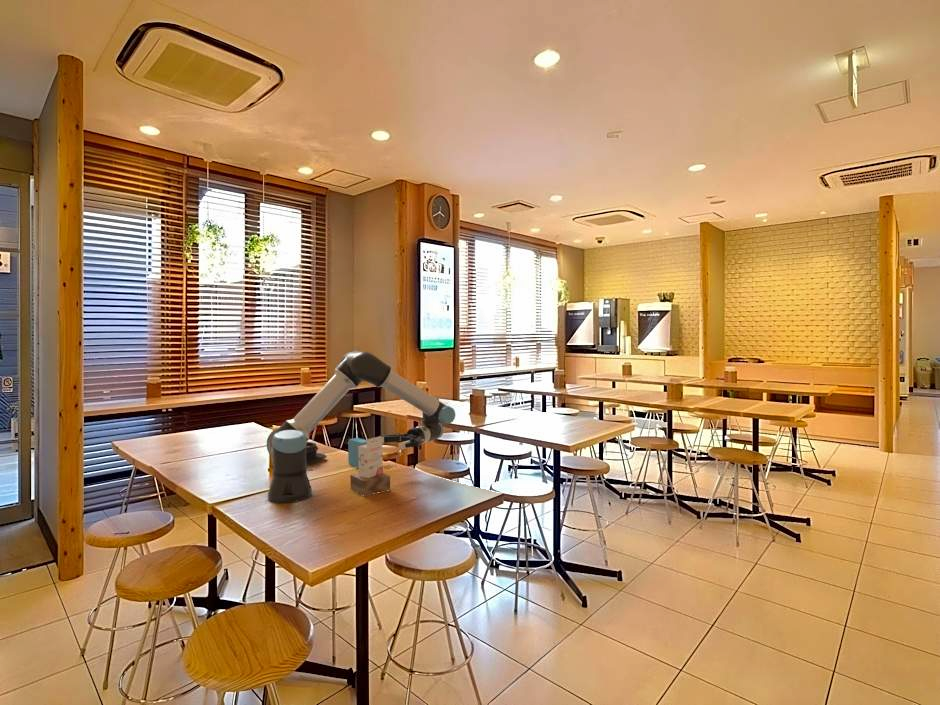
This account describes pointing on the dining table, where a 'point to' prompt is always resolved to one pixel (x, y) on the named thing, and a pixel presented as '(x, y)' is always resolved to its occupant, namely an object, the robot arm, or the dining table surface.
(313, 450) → the casserole
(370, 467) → the ink cartridge box
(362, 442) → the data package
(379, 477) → the walnut block
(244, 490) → the dining table surface
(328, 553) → the dining table surface
